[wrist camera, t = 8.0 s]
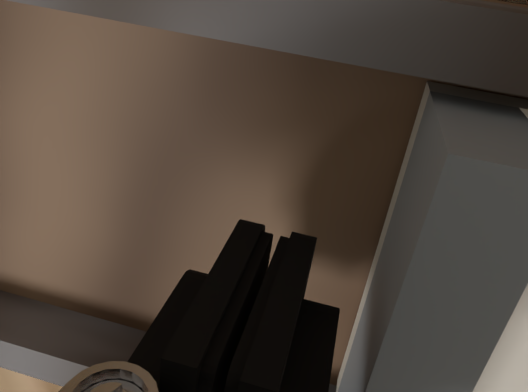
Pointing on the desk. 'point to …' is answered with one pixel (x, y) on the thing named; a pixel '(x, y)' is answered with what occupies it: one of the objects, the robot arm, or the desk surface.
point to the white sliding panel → (450, 256)
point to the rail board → (209, 148)
